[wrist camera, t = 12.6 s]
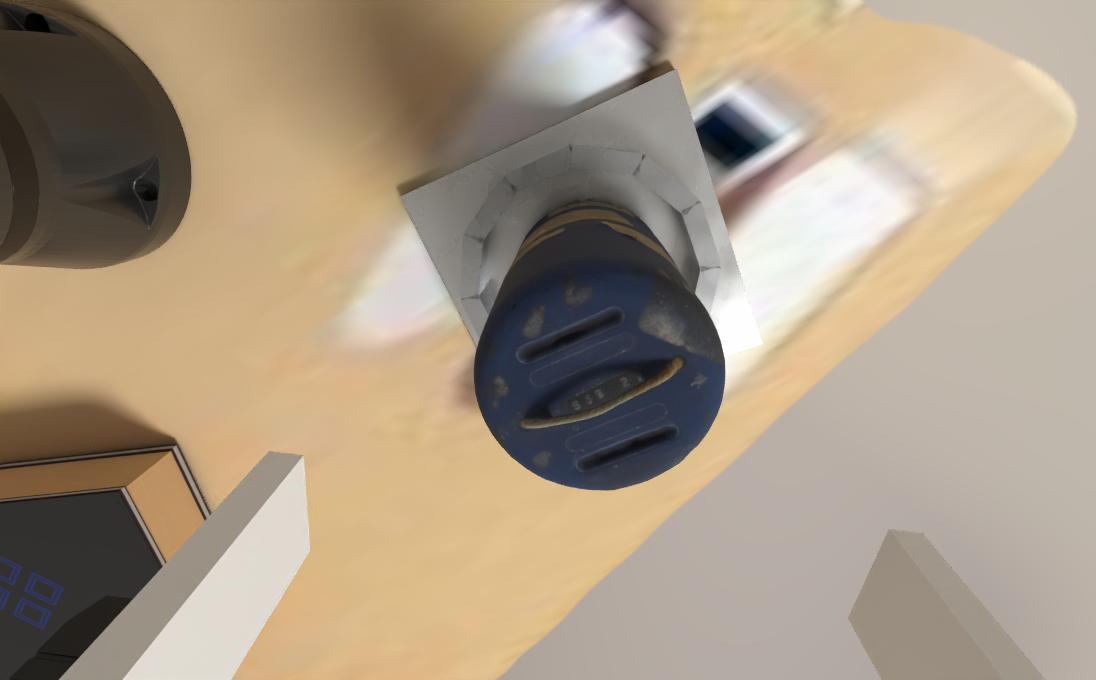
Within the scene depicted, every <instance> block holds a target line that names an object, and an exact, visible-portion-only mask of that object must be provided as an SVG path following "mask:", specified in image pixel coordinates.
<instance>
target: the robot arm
mask: <svg viewBox="0 0 1096 680" xmlns="http://www.w3.org/2000/svg"><path fill="white" fill-rule="evenodd" d="M190 189H191V164H190V156H189V150H188V146H187V142H186V138H185V135H184V132H183V129H182V126H181V123H180V121H179V119H178V116H177V114H176V112H175V110H174V108H173V106H172V104H171V102H170V100H169V99H168V97H167V95H166V93H165V92H164V90H163V89H162V87H161V86H160V84H159V83H158V81H157V80H156V79H155V77H154V76H153V75H152V74H151V72H150V71H149V70H148V69H147V68H146V66H145V65H144V64H143V63H142V62H141V61H140V60H139V59H138V58H137V57H136V56H135V55H134V54H133V53H132V52H131V51H130V50H129V49H128V48H127V47H125V46H124V45H123V44H122V43H121V42H119V41H118V40H117V39H116V38H114V37H113V36H112V35H110V34H109V33H107V32H106V31H104V30H103V29H101V28H99V27H97V26H96V25H94V24H92V23H90V22H88V21H86V20H84V19H82V18H79V17H77V16H75V15H72V14H69V13H66V12H63V11H59V10H55V9H50V8H46V7H41V6H36V5H31V4H27V3H22V2H15V1H5V0H0V264H2V265H19V266H36V267H53V268H69V269H94V268H102V267H108V266H113V265H116V264H119V263H123V262H126V261H129V260H133V259H136V258H139V257H142V256H144V255H147V254H149V253H151V252H152V251H154V250H156V249H157V248H159V247H160V246H161V245H163V244H164V243H165V242H166V241H167V240H168V239H169V238H170V237H171V236H172V234H173V233H174V232H175V231H176V229H177V228H178V226H179V224H180V222H181V220H182V219H183V216H184V214H185V211H186V208H187V205H188V201H189V196H190ZM309 552H310V541H309V527H308V512H307V498H306V484H305V469H304V455H296V454H288V453H280V452H272V451H269V452H268V453H267V454H266V455H265V456H264V457H263V459H262V460H261V461H260V462H259V463H258V464H257V465H256V466H255V467H254V468H253V469H252V470H251V472H250V473H249V474H248V475H247V476H246V477H245V478H244V479H243V480H242V481H241V482H240V483H239V485H238V486H237V487H236V488H235V489H234V490H233V491H232V492H231V493H230V494H229V495H228V497H227V498H226V499H225V500H224V501H223V502H222V503H221V504H220V505H219V506H218V507H217V508H216V510H215V511H214V512H213V513H212V514H211V515H210V516H209V517H208V518H207V519H206V520H205V522H204V523H203V524H202V525H201V526H200V527H199V528H198V529H197V530H196V531H195V532H194V533H193V535H192V536H191V537H190V538H189V539H188V540H187V541H186V542H185V543H184V544H183V545H182V547H181V548H180V549H179V550H178V551H177V552H176V553H175V554H174V555H173V556H172V557H171V558H170V560H169V561H168V562H167V563H166V564H165V565H164V566H163V567H162V568H161V569H160V570H159V571H158V573H157V574H156V575H155V576H154V577H153V578H152V579H151V580H150V581H149V582H148V583H147V585H146V586H145V587H144V588H143V589H142V590H141V591H140V592H139V593H138V594H137V595H136V596H135V598H134V599H131V598H123V597H115V596H105V597H103V598H102V599H100V600H99V601H97V602H96V603H94V604H93V605H91V606H89V607H88V608H86V609H85V610H83V611H82V612H80V613H78V614H77V615H75V616H74V617H72V618H71V619H69V620H68V621H67V622H66V623H65V624H64V625H63V626H62V627H61V628H60V629H59V630H58V631H57V632H56V633H55V634H54V635H53V636H52V637H51V638H50V639H49V640H47V641H46V642H45V643H44V644H43V645H42V646H41V647H40V648H39V649H38V650H37V651H36V655H35V656H34V657H33V658H29V659H28V660H27V661H26V662H25V663H24V664H23V665H22V666H21V667H20V668H19V669H18V670H17V671H16V672H15V673H14V674H13V675H12V676H11V677H10V678H9V680H231V679H232V677H233V675H234V674H235V672H236V670H237V669H238V667H239V666H240V664H241V662H242V661H243V659H244V657H245V656H246V654H247V653H248V651H249V649H250V648H251V646H252V644H253V643H254V641H255V639H256V638H257V636H258V635H259V633H260V631H261V630H262V628H263V626H264V625H265V623H266V622H267V620H268V618H269V617H270V615H271V613H272V612H273V610H274V609H275V607H276V605H277V604H278V602H279V600H280V599H281V597H282V596H283V594H284V592H285V591H286V589H287V587H288V586H289V584H290V582H291V581H292V579H293V578H294V576H295V574H296V573H297V571H298V569H299V568H300V566H301V565H302V563H303V561H304V560H305V558H306V556H307V555H308V553H309ZM848 619H849V621H850V623H851V624H852V626H853V628H854V630H855V632H856V633H857V635H858V637H859V639H860V641H861V643H862V644H863V646H864V648H865V650H866V652H867V654H868V656H869V657H870V659H871V661H872V663H873V665H874V666H875V668H876V670H877V672H878V674H879V676H880V677H881V679H882V680H1046V679H1045V678H1044V677H1043V676H1042V675H1041V673H1040V672H1039V671H1038V670H1037V669H1036V667H1035V666H1034V665H1033V664H1032V663H1031V662H1030V660H1029V659H1028V658H1027V657H1026V656H1025V655H1024V653H1023V652H1022V651H1021V650H1020V648H1019V647H1018V646H1017V645H1016V644H1015V642H1014V641H1013V640H1012V639H1011V638H1010V636H1009V635H1008V634H1007V633H1006V632H1005V631H1004V630H1003V628H1002V627H1001V626H1000V625H999V623H998V622H997V621H996V620H995V619H994V618H993V616H992V615H991V614H990V613H989V611H988V610H987V609H986V608H985V607H984V606H983V604H982V603H981V602H980V601H979V600H978V598H977V597H976V596H975V595H974V594H973V592H972V591H971V590H970V589H969V588H968V586H967V585H966V584H965V583H964V582H963V580H962V579H961V578H960V577H959V576H958V574H957V573H956V572H955V571H954V570H953V569H952V567H951V566H950V565H949V564H948V563H947V561H946V560H945V559H944V558H943V557H942V555H941V554H940V553H939V552H938V551H937V549H936V548H935V547H934V546H933V545H932V543H931V542H930V541H929V540H928V539H927V538H926V536H925V535H924V534H922V533H914V532H906V531H899V530H891V529H890V530H889V531H888V533H887V535H886V537H885V539H884V541H883V544H882V546H881V548H880V550H879V552H878V555H877V557H876V559H875V561H874V563H873V565H872V568H871V570H870V572H869V574H868V576H867V578H866V580H865V583H864V585H863V587H862V589H861V591H860V594H859V596H858V598H857V600H856V602H855V604H854V607H853V609H852V611H851V613H850V615H849V618H848Z"/></svg>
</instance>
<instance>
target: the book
mask: <svg viewBox="0 0 1096 680" xmlns="http://www.w3.org/2000/svg"><path fill="white" fill-rule="evenodd" d="M210 515H211V514H210V512H209V510H208V508H207V506H206V504H205V502H204V500H203V498H202V496H201V493H200V491H199V489H198V487H197V485H196V483H195V481H194V479H193V477H192V475H191V473H190V470H189V468H188V466H187V464H186V462H185V460H184V458H183V456H182V454H181V452H180V449H179V447H178V445H168V446H159V447H150V448H141V449H132V450H123V451H114V452H105V453H96V454H87V455H78V456H69V457H60V458H51V459H42V460H33V461H24V462H15V463H6V464H0V680H9V678H10V677H11V676H12V675H13V674H14V673H15V672H16V671H17V670H18V669H19V668H20V667H21V666H22V665H23V664H24V663H25V662H26V661H27V660H28V659H29V658H33V657H34V656H35V655H36V651H37V650H38V649H39V648H40V647H41V646H42V645H43V644H44V643H45V642H46V641H47V640H49V639H50V638H51V637H52V636H53V635H54V634H55V633H56V632H57V631H58V630H59V629H60V628H61V627H62V626H63V625H64V624H65V623H66V622H67V621H68V620H69V619H71V618H72V617H74V616H75V615H77V614H78V613H80V612H82V611H83V610H85V609H86V608H88V607H89V606H91V605H93V604H94V603H96V602H97V601H99V600H100V599H102V598H103V597H105V596H115V597H123V598H131V599H134V598H135V596H136V595H137V594H138V593H139V592H140V591H141V590H142V589H143V588H144V587H145V586H146V585H147V583H148V582H149V581H150V580H151V579H152V578H153V577H154V576H155V575H156V574H157V573H158V571H159V570H160V569H161V568H162V567H163V566H164V565H165V564H166V563H167V562H168V561H169V560H170V558H171V557H172V556H173V555H174V554H175V553H176V552H177V551H178V550H179V549H180V548H181V547H182V545H183V544H184V543H185V542H186V541H187V540H188V539H189V538H190V537H191V536H192V535H193V533H194V532H195V531H196V530H197V529H198V528H199V527H200V526H201V525H202V524H203V523H204V522H205V520H206V519H207V518H208V517H209V516H210Z"/></svg>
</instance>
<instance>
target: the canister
mask: <svg viewBox="0 0 1096 680" xmlns="http://www.w3.org/2000/svg"><path fill="white" fill-rule="evenodd" d="M474 384H475V392H476V397H477V401H478V405H479V408H480V411H481V413H482V416H483V418H484V421H485V423H486V424H487V426H488V428H489V430H490V431H491V433H492V435H493V436H494V437H495V439H496V440H497V441H498V443H499V444H500V445H501V446H502V447H503V448H504V449H505V451H506V452H507V453H508V454H509V455H510V456H511V457H512V458H513V459H515V460H516V461H517V462H519V463H520V464H521V465H522V466H524V467H525V468H526V469H528V470H530V471H531V472H533V473H534V474H536V475H538V476H540V477H542V478H544V479H546V480H549V481H552V482H555V483H558V484H561V485H564V486H569V487H575V488H579V489H587V490H616V489H620V488H624V487H628V486H632V485H635V484H639V483H642V482H645V481H648V480H650V479H652V478H654V477H656V476H658V475H660V474H662V473H664V472H665V471H667V470H669V469H671V468H672V467H674V466H676V465H677V464H679V463H680V462H681V461H682V460H683V459H684V458H685V457H686V456H687V455H688V454H689V453H690V452H691V451H692V450H693V449H694V448H695V447H696V446H698V444H699V443H700V442H701V441H702V439H703V438H704V437H705V435H706V434H707V433H708V431H709V429H710V427H711V426H712V424H713V422H714V420H715V418H716V416H717V414H718V411H719V408H720V405H721V402H722V398H723V392H724V385H725V358H724V352H723V348H722V344H721V340H720V337H719V334H718V332H717V329H716V327H715V325H714V323H713V320H712V318H711V317H710V315H709V313H708V311H707V310H706V308H705V307H704V305H703V304H702V302H701V301H700V299H699V298H698V297H697V295H696V294H695V293H694V292H693V290H692V289H691V287H690V286H689V285H688V283H687V282H686V280H685V279H684V277H683V276H682V274H681V273H680V271H679V270H678V268H677V266H676V264H675V262H674V260H673V259H672V257H671V256H670V255H669V253H668V252H667V250H666V249H665V248H664V246H663V245H662V243H661V242H660V241H659V240H658V238H657V237H656V236H655V235H654V233H653V232H652V231H651V229H650V228H649V227H648V226H647V225H646V224H645V223H644V222H643V221H642V220H641V219H640V218H639V217H637V216H636V215H635V214H633V213H632V212H630V211H628V210H627V209H624V208H622V207H619V206H616V205H613V204H610V203H606V202H601V201H579V202H575V203H570V204H567V205H564V206H562V207H560V208H557V209H555V210H553V211H552V212H550V213H548V214H547V215H546V216H545V217H543V218H542V219H541V220H540V221H539V222H537V223H536V225H535V226H534V227H533V228H532V229H531V230H530V231H529V233H528V234H527V236H526V237H525V239H524V241H523V242H522V244H521V246H520V248H519V251H518V253H517V255H516V257H515V259H514V261H513V263H512V265H511V266H510V268H509V270H508V272H507V273H506V275H505V278H504V280H503V282H502V285H501V287H500V289H499V292H498V295H497V297H496V299H495V302H494V304H493V306H492V309H491V311H490V313H489V316H488V318H487V321H486V323H485V326H484V328H483V331H482V333H481V336H480V339H479V342H478V346H477V350H476V355H475V363H474Z"/></svg>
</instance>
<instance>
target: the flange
mask: <svg viewBox="0 0 1096 680" xmlns="http://www.w3.org/2000/svg"><path fill="white" fill-rule="evenodd" d="M400 198H401V200H402V202H403V204H404V206H405V208H406V209H407V211H408V213H409V215H410V217H411V219H412V221H413V223H414V225H415V227H416V229H417V231H418V233H419V235H420V237H421V239H422V241H423V243H424V245H425V247H426V249H427V251H428V252H429V254H430V256H431V258H432V260H433V262H434V264H435V266H436V268H437V270H438V272H439V274H440V276H441V278H442V280H443V282H444V284H445V286H446V288H447V290H448V292H449V294H450V295H451V297H452V299H453V301H454V303H455V305H456V307H457V309H458V311H459V313H460V315H461V317H462V319H463V321H464V323H465V325H466V327H467V329H468V331H469V333H470V335H471V337H472V339H473V340H474V342H475V344H476V346H478V342H479V339H480V336H481V333H482V331H483V328H484V326H485V323H486V321H487V318H488V316H489V313H490V311H491V309H492V306H493V304H494V302H495V299H496V297H497V295H498V292H499V289H500V287H501V285H502V282H503V280H504V278H505V275H506V273H507V272H508V270H509V268H510V266H511V265H512V263H513V261H514V259H515V257H516V255H517V253H518V251H519V248H520V246H521V244H522V242H523V241H524V239H525V237H526V236H527V234H528V233H529V231H530V230H531V229H532V228H533V227H534V226H535V225H536V223H537V222H539V221H540V220H541V219H542V218H543V217H545V216H546V215H547V214H548V213H550V212H552V211H553V210H555V209H557V208H560V207H562V206H564V205H567V204H570V203H575V202H579V201H601V202H606V203H610V204H613V205H616V206H619V207H622V208H624V209H627V210H628V211H630V212H632V213H633V214H635V215H636V216H637V217H639V218H640V219H641V220H642V221H643V222H644V223H645V224H646V225H647V226H648V227H649V228H650V229H651V231H652V232H653V233H654V235H655V236H656V237H657V238H658V240H659V241H660V242H661V243H662V245H663V246H664V248H665V249H666V250H667V252H668V253H669V255H670V256H671V257H672V259H673V260H674V262H675V264H676V266H677V268H678V270H679V271H680V273H681V274H682V276H683V277H684V279H685V280H686V282H687V283H688V285H689V286H690V287H691V289H692V290H693V292H694V293H695V294H696V295H697V297H698V298H699V299H700V301H701V302H702V304H703V305H704V307H705V308H706V310H707V311H708V313H709V315H710V317H711V318H712V320H713V323H714V325H715V327H716V329H717V332H718V334H719V337H720V340H721V344H722V348H723V352H724V357H725V356H728V355H731V354H733V353H736V352H739V351H742V350H745V349H748V348H751V347H754V346H757V345H759V344H762V342H761V339H760V336H759V332H758V329H757V326H756V323H755V320H754V316H753V313H752V310H751V307H750V303H749V300H748V297H747V294H746V291H745V287H744V284H743V281H742V278H741V274H740V271H739V268H738V265H737V261H736V258H735V255H734V252H733V249H732V245H731V242H730V239H729V236H728V232H727V229H726V226H725V223H724V219H723V216H722V213H721V210H720V207H719V203H718V200H717V197H716V194H715V190H714V187H713V184H712V181H711V178H710V174H709V171H708V168H707V165H706V161H705V158H704V155H703V152H702V148H701V145H700V142H699V139H698V136H697V132H696V129H695V126H694V123H693V119H692V116H691V113H690V110H689V106H688V103H687V100H686V97H685V94H684V90H683V87H682V84H681V81H680V77H679V74H678V71H677V69H675V70H672V71H670V72H668V73H666V74H664V75H662V76H659V77H657V78H655V79H653V80H651V81H649V82H647V83H644V84H642V85H640V86H638V87H636V88H634V89H631V90H629V91H627V92H625V93H623V94H621V95H618V96H616V97H614V98H612V99H610V100H608V101H605V102H603V103H601V104H599V105H597V106H595V107H593V108H590V109H588V110H586V111H584V112H582V113H580V114H577V115H575V116H573V117H571V118H569V119H567V120H564V121H562V122H560V123H558V124H556V125H554V126H551V127H549V128H547V129H545V130H543V131H541V132H539V133H536V134H534V135H532V136H530V137H528V138H526V139H523V140H521V141H519V142H517V143H515V144H513V145H510V146H508V147H506V148H504V149H502V150H500V151H497V152H495V153H493V154H491V155H489V156H487V157H485V158H482V159H480V160H478V161H476V162H474V163H472V164H469V165H467V166H465V167H463V168H461V169H459V170H456V171H454V172H452V173H450V174H448V175H446V176H443V177H441V178H439V179H437V180H435V181H433V182H431V183H428V184H426V185H424V186H422V187H420V188H418V189H415V190H413V191H411V192H409V193H407V194H405V195H402V196H400Z"/></svg>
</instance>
